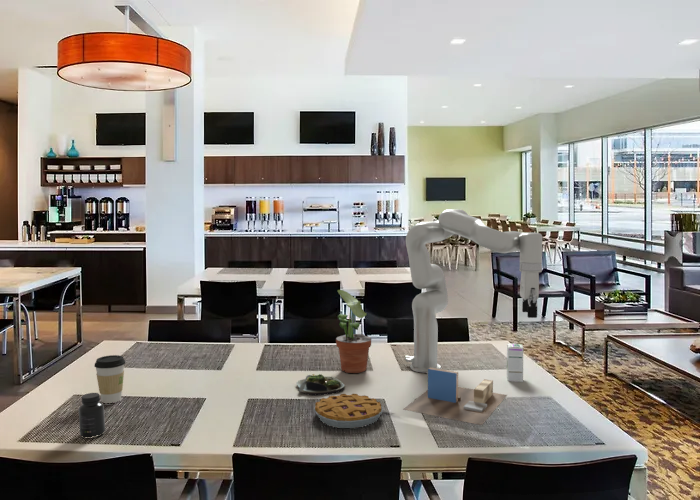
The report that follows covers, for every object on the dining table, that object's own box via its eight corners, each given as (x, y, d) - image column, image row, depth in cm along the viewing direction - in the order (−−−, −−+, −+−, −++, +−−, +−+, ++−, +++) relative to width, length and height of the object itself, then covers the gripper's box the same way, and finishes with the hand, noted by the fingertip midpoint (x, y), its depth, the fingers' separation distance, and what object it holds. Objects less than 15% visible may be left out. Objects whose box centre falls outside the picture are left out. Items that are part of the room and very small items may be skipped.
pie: (332, 437, 165) (332, 420, 164) (303, 412, 184) (303, 397, 184) (395, 423, 175) (395, 407, 174) (361, 401, 194) (361, 387, 194)
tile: (427, 397, 192) (428, 369, 192) (429, 395, 194) (430, 367, 193) (455, 402, 188) (456, 373, 187) (457, 400, 189) (458, 371, 188)
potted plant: (328, 374, 223) (328, 287, 220) (343, 363, 237) (343, 281, 234) (365, 378, 218) (365, 289, 214) (378, 367, 232) (378, 283, 228)
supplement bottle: (85, 430, 169) (83, 391, 168) (108, 429, 170) (106, 390, 169) (76, 440, 162) (74, 399, 161) (100, 439, 163) (98, 398, 162)
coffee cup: (133, 398, 197) (131, 356, 195) (112, 407, 187) (110, 363, 186) (110, 394, 200) (108, 353, 199) (89, 404, 191) (87, 361, 189)
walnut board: (402, 413, 182) (402, 406, 182) (436, 386, 208) (436, 380, 208) (481, 429, 169) (481, 421, 169) (507, 399, 195) (507, 392, 195)
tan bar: (481, 412, 179) (482, 397, 179) (463, 408, 182) (463, 393, 182) (496, 395, 195) (497, 381, 194) (479, 392, 198) (480, 378, 197)
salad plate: (288, 382, 215) (287, 370, 215) (332, 377, 221) (332, 365, 221) (301, 398, 197) (301, 386, 196) (349, 392, 203) (349, 380, 202)
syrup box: (523, 385, 209) (524, 347, 208) (506, 384, 210) (507, 346, 209) (521, 381, 215) (522, 343, 213) (505, 380, 216) (506, 342, 215)
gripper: (515, 264, 209) (514, 309, 210) (524, 270, 192) (523, 319, 193) (536, 264, 208) (535, 310, 210) (547, 270, 191) (545, 320, 192)
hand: (529, 314), depth 201 cm, fingers open, 9 cm apart
